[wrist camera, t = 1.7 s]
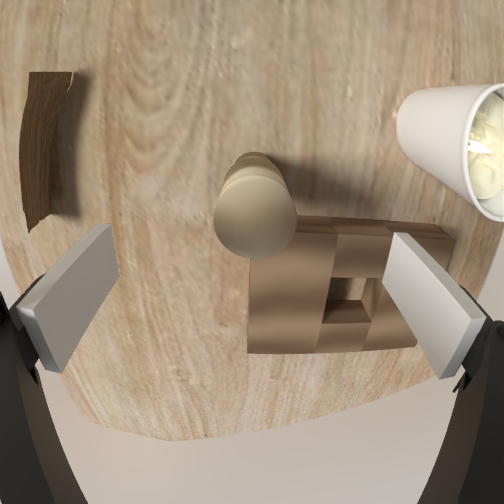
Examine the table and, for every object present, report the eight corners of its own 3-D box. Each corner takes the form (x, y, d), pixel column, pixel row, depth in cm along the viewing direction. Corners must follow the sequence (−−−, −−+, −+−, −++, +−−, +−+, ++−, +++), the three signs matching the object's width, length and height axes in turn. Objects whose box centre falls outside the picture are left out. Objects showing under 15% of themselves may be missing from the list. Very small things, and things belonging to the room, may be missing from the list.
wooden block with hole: (251, 213, 29) (252, 230, 25) (436, 224, 29) (455, 240, 26) (247, 328, 35) (247, 353, 32) (403, 325, 36) (414, 346, 32)
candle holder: (413, 193, 28) (484, 247, 17) (369, 107, 24) (443, 118, 13) (477, 149, 25) (556, 183, 14) (441, 66, 21) (527, 65, 11)
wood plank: (60, 216, 29) (35, 235, 24) (46, 212, 28) (20, 231, 24) (72, 72, 22) (43, 70, 17) (57, 72, 22) (27, 71, 17)
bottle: (229, 146, 26) (213, 179, 15) (279, 148, 26) (300, 183, 15) (228, 194, 28) (214, 257, 17) (276, 196, 28) (292, 259, 17)
